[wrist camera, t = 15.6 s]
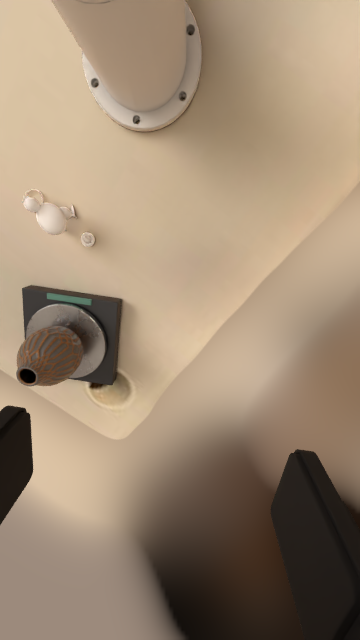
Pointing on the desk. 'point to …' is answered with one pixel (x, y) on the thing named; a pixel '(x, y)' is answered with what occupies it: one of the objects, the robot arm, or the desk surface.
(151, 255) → the desk surface
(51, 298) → the scale
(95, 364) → the scale pan
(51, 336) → the vase
